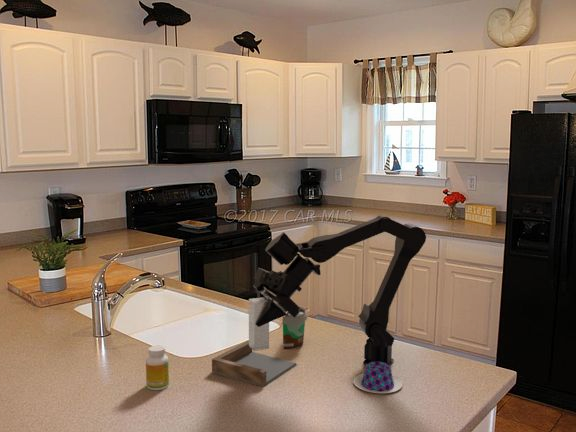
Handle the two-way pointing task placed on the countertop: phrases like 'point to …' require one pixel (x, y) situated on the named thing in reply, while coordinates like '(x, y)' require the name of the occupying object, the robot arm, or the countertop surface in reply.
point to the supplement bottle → (157, 368)
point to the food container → (294, 330)
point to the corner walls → (229, 367)
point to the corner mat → (263, 366)
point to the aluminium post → (257, 334)
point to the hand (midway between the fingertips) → (253, 323)
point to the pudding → (377, 379)
